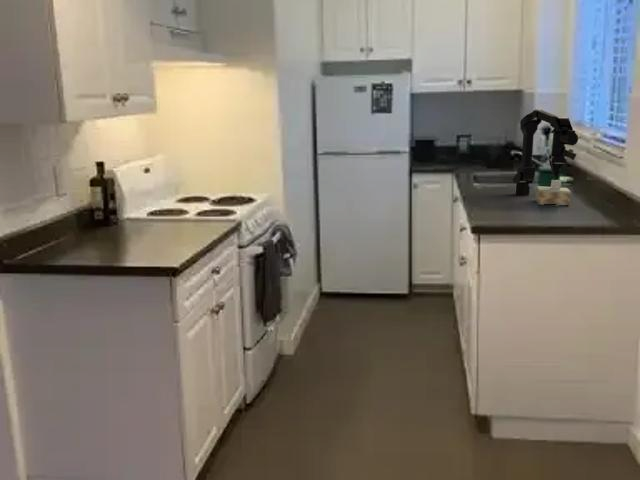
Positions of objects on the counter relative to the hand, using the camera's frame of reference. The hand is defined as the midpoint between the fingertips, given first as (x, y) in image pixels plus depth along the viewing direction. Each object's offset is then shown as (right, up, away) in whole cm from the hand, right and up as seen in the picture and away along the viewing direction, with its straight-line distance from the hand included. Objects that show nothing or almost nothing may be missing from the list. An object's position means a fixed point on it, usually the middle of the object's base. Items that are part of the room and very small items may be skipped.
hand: (554, 176), depth 331 cm
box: (-1, -13, +1) cm, 13 cm away
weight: (0, -6, -1) cm, 6 cm away
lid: (-1, -7, 0) cm, 7 cm away
